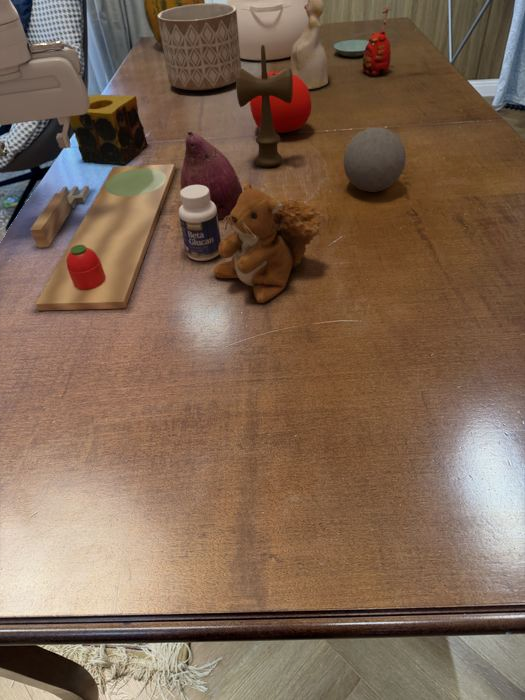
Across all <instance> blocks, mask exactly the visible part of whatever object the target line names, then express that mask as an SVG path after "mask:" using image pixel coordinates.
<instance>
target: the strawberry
mask: <svg viewBox="0 0 525 700" xmlns="http://www.w3.org/2000/svg"><path fill="white" fill-rule="evenodd" d="M67 269H68V272H69V274H70V277H71V279H72V282H73V284H74V286H75V287H76V288H78V289H83V290H86V289H92V288H95V287H97V286H99V285H101V284H102V283H103V282H104V280H105V273H104V270H103V267H102V264H101V261H100V259H99V257H98V256H97V254H96V253H95V252H94V251H93V250H91V249H90V248H87V247H86V246H84V245H76V246H74V247H72V248H71V252H70V253H69V254H68V257H67Z"/></svg>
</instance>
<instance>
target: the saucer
mask: <svg viewBox="0 0 525 700" xmlns="http://www.w3.org/2000/svg"><path fill="white" fill-rule="evenodd" d="M368 43H369V40H365V39H348V40H342V41H339V42H336V43H334V44H333V49H334V50H335V51H336V52H337V53H338V54H340V55H341V56H343V57H348V58H357V57H362V56H364V52H365V48H366V45H367V44H368Z"/></svg>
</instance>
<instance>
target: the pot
mask: <svg viewBox="0 0 525 700" xmlns="http://www.w3.org/2000/svg"><path fill="white" fill-rule="evenodd" d="M307 3H308V0H227V1H226V4H229V5H233V6H235V7H236V11H237V23H238V35H239V48H240V59H242V60H247V61H254V62H255V61H257V62H258V61H259V62H261V46H262V45H264V47H265V55H266V62H268V61H276V60H282V59H283V60H284V59H287V58H291V54H292V48H293V45H294V43H295V42H296V41H297V40H298V39H299V38H300V37H301V35H302V34H303V32H304V30H305V29H306V27H307V24H308V22H309V18H308V15H307V13H306V9H305V8H304V7H305V5H307Z"/></svg>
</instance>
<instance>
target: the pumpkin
mask: <svg viewBox="0 0 525 700" xmlns="http://www.w3.org/2000/svg"><path fill="white" fill-rule="evenodd" d="M204 3H206V2H205V0H143V8H144V14H145V18H146V21H147V24H148V26H149V29H150V31H151V33H152V35H153V37H154V39H155V40H156V42H157V43H158V44H160V45H161V46H162V47H163V45H162V39H161V33H160V28H159V22H158V14H159V13H160V12H162V11H164V10H167V9H171V8H175V7H179V6H185V5H192V4H204Z"/></svg>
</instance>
